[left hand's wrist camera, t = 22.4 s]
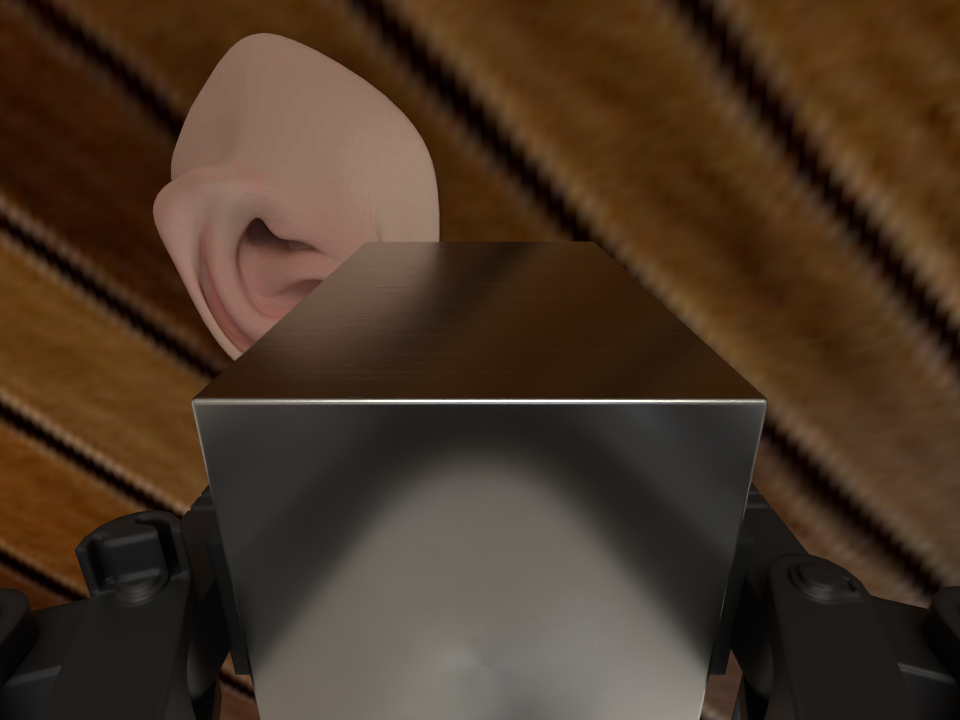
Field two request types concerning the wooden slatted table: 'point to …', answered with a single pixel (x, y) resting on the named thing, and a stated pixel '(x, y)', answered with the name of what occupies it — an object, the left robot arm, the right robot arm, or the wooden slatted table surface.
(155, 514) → the left robot arm
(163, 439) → the wooden slatted table surface
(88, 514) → the wooden slatted table surface
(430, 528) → the block
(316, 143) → the anatomical model
